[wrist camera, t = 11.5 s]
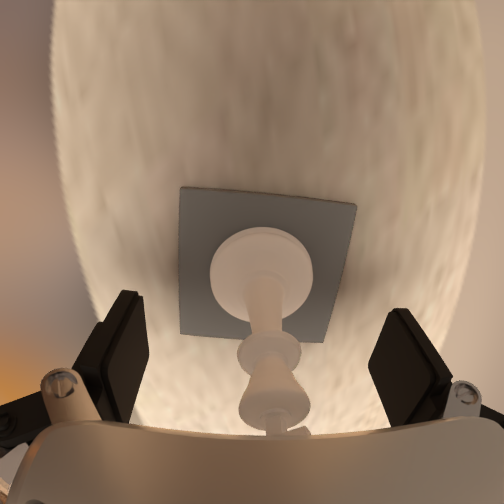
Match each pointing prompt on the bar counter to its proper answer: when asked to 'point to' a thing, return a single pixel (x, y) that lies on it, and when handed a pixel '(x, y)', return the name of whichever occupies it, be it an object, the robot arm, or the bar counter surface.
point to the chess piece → (266, 321)
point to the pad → (249, 216)
